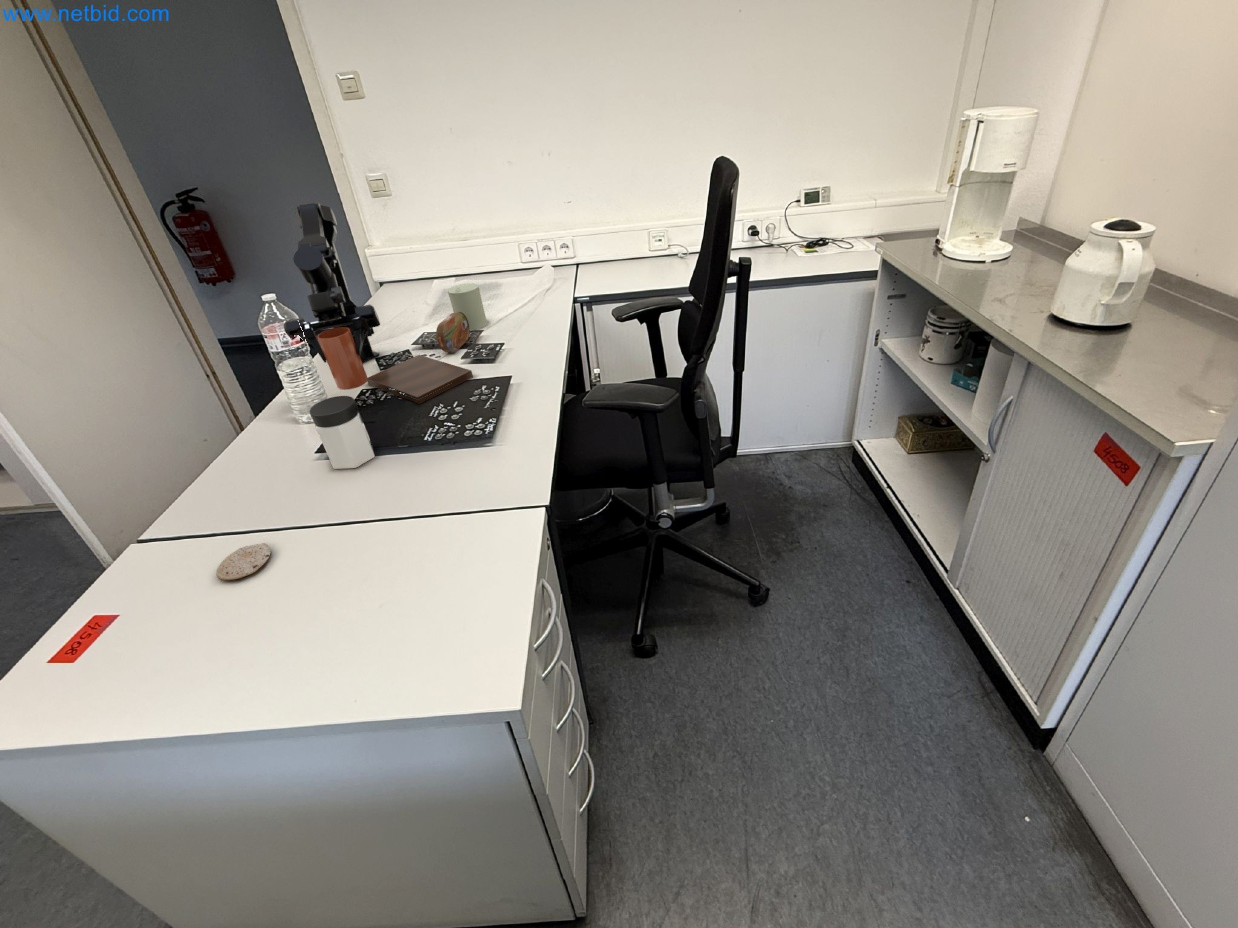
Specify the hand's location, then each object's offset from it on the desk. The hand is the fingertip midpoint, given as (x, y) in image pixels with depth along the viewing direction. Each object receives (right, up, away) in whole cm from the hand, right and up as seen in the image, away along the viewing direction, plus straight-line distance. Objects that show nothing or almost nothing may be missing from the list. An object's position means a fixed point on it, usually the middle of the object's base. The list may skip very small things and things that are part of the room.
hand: (342, 358), depth 128 cm
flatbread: (+2, -39, -36) cm, 53 cm away
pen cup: (0, -5, +5) cm, 7 cm away
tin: (+15, +10, +36) cm, 40 cm away
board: (+11, -2, +18) cm, 21 cm away
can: (+16, +18, +49) cm, 55 cm away
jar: (+8, -22, -11) cm, 26 cm away
